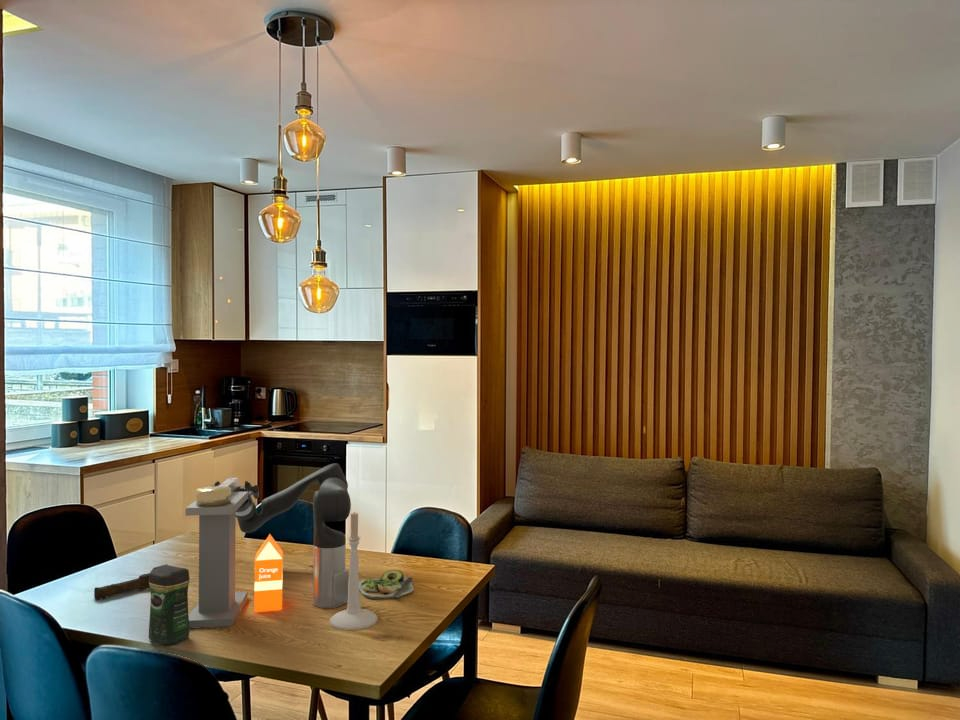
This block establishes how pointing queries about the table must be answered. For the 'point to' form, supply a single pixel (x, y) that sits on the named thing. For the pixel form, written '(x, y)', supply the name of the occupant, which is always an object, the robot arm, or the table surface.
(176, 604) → the coffee jar
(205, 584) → the shelf
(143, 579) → the hand tool
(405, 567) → the table surface
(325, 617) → the table surface
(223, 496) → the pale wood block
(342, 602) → the robot arm
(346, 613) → the candlestick
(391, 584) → the avocado toast plate
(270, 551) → the orange juice
